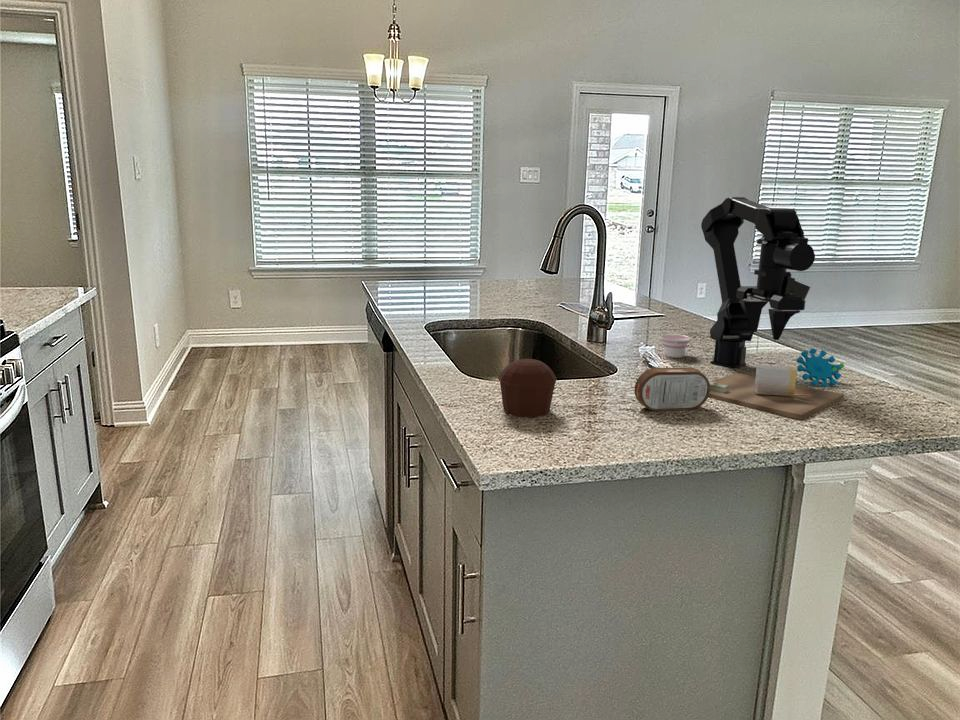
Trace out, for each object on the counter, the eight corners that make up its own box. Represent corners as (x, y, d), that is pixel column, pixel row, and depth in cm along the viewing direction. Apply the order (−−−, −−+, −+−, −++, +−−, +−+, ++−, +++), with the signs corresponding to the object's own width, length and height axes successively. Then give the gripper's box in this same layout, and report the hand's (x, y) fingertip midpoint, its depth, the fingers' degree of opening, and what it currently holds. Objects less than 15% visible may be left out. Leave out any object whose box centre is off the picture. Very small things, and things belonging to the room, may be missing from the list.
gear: (806, 385, 155) (793, 346, 160) (793, 397, 160) (782, 359, 165) (853, 385, 156) (839, 346, 161) (839, 397, 161) (826, 359, 166)
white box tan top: (756, 394, 146) (759, 368, 145) (753, 390, 149) (756, 364, 148) (793, 396, 145) (797, 370, 143) (790, 392, 148) (793, 366, 146)
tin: (702, 406, 141) (706, 365, 140) (710, 410, 138) (714, 369, 136) (632, 408, 139) (635, 367, 137) (638, 413, 136) (641, 371, 134)
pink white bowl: (699, 367, 175) (702, 342, 173) (650, 364, 177) (652, 340, 175) (693, 356, 186) (695, 333, 185) (647, 354, 188) (649, 331, 187)
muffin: (521, 398, 144) (522, 351, 142) (566, 409, 137) (569, 360, 135) (485, 411, 135) (486, 361, 133) (531, 424, 128) (533, 371, 126)
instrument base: (687, 393, 150) (688, 381, 150) (736, 376, 165) (738, 365, 164) (800, 420, 133) (801, 406, 133) (843, 399, 148) (845, 386, 147)
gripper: (832, 271, 146) (823, 343, 150) (782, 262, 164) (775, 327, 168) (783, 270, 145) (774, 344, 148) (738, 262, 163) (731, 328, 166)
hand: (764, 335), depth 158 cm, fingers open, 9 cm apart
